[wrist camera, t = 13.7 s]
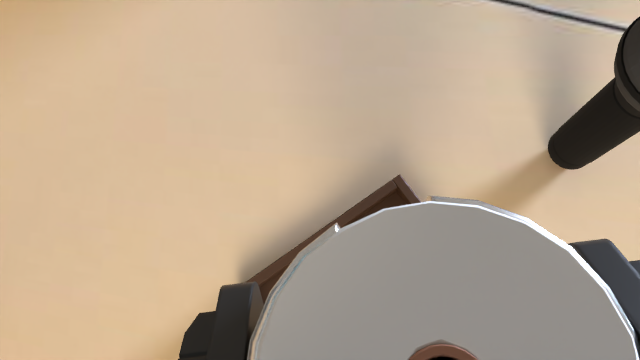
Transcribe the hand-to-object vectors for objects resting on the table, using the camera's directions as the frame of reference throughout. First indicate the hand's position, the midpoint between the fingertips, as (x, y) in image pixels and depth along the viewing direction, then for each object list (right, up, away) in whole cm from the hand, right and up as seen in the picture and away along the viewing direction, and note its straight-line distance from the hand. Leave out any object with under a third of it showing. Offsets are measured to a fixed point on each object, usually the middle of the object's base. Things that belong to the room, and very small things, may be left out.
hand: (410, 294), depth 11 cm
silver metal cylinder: (+2, -7, +20) cm, 22 cm away
